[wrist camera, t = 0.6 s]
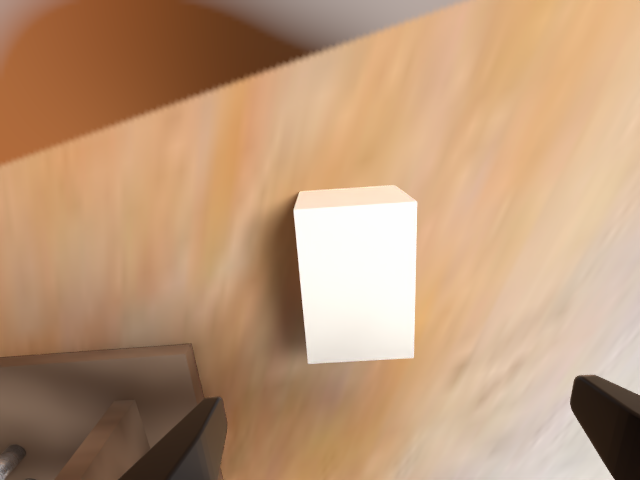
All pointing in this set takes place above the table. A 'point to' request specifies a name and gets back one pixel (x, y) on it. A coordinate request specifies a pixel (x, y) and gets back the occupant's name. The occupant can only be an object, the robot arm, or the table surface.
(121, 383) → the rack
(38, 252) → the table surface
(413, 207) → the white rectangular block
